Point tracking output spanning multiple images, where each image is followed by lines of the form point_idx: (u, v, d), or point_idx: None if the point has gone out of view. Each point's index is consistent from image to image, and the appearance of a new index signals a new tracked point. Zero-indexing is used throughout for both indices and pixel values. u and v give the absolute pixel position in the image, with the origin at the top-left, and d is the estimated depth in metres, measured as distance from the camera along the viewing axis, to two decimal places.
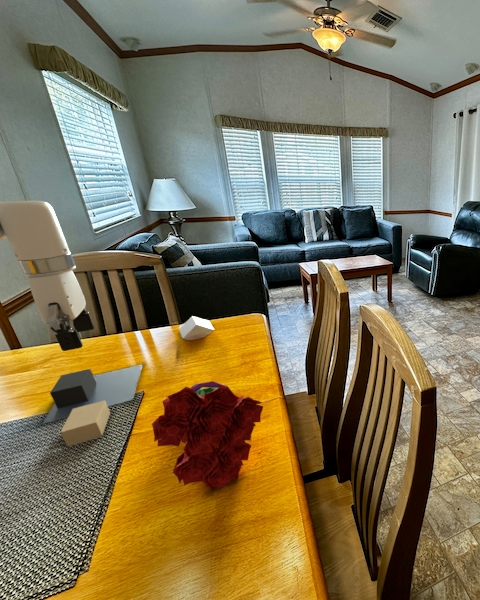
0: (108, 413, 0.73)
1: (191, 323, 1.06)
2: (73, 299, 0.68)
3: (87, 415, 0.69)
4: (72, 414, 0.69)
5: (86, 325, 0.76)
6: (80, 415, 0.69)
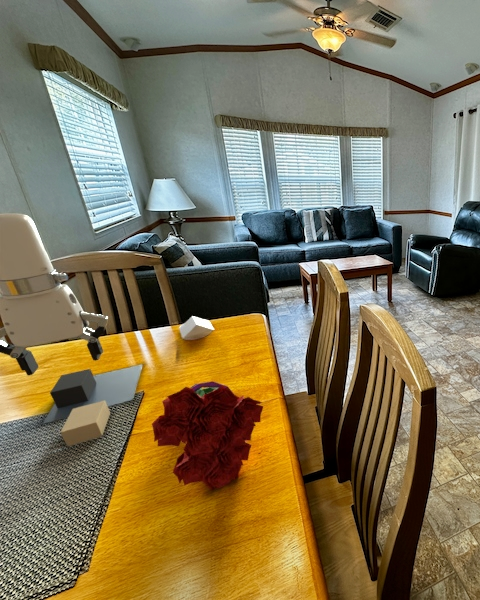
0: (108, 413, 0.73)
1: (191, 323, 1.06)
2: (22, 327, 0.59)
3: (87, 415, 0.69)
4: (72, 414, 0.69)
5: None
6: (80, 415, 0.69)
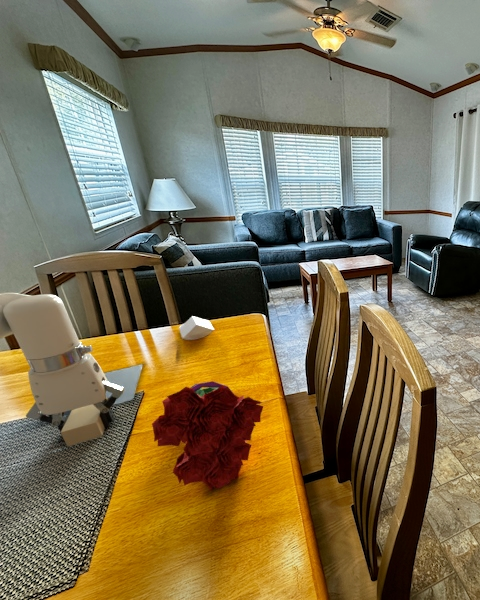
0: None
1: (191, 323, 1.06)
2: (50, 398, 0.63)
3: (87, 415, 0.69)
4: (72, 414, 0.69)
5: None
6: (80, 415, 0.69)
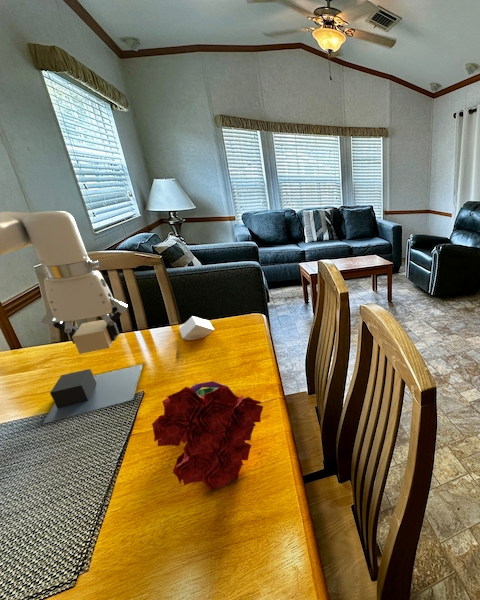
0: None
1: (191, 323, 1.06)
2: (63, 305, 0.71)
3: (95, 326, 0.77)
4: (82, 326, 0.77)
5: None
6: (89, 327, 0.77)
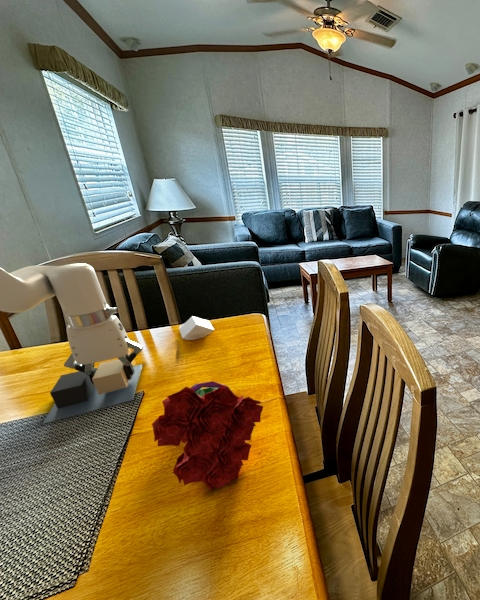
0: None
1: (191, 323, 1.06)
2: (84, 350, 0.76)
3: (112, 367, 0.82)
4: (100, 367, 0.82)
5: None
6: (107, 367, 0.82)
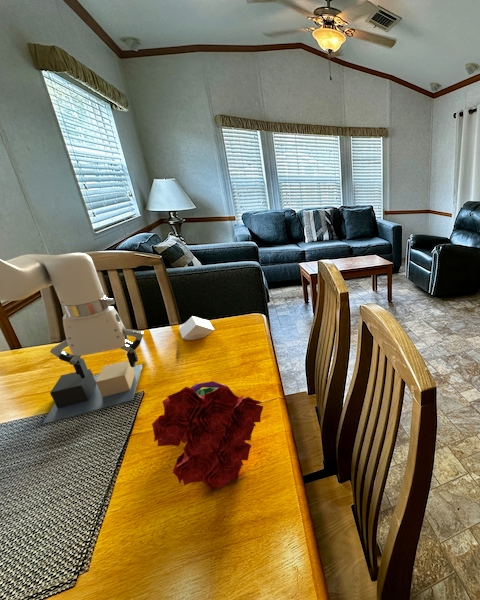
0: (132, 371, 0.87)
1: (191, 323, 1.06)
2: (80, 341, 0.75)
3: (116, 370, 0.82)
4: (103, 369, 0.83)
5: None
6: (110, 370, 0.82)
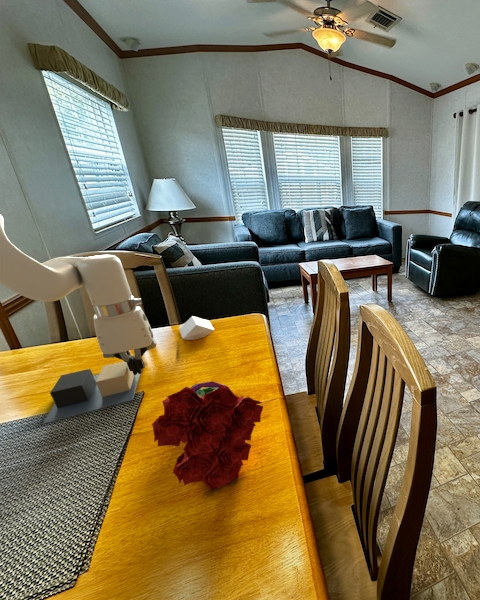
0: None
1: (191, 323, 1.06)
2: (110, 340, 0.78)
3: (116, 370, 0.82)
4: (103, 369, 0.83)
5: None
6: (110, 370, 0.82)
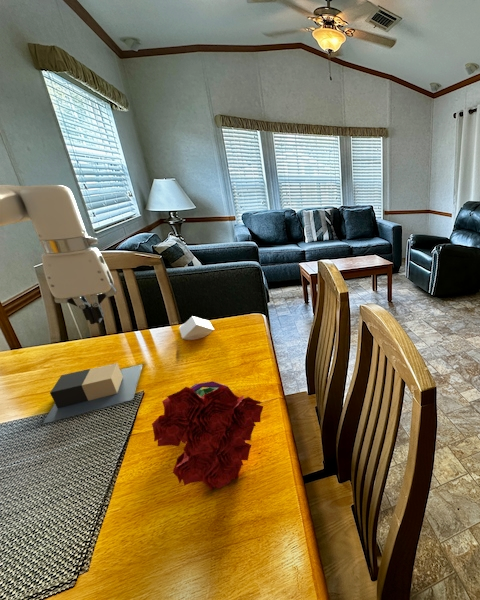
0: (120, 374, 0.86)
1: (191, 323, 1.06)
2: (61, 281, 0.70)
3: (103, 373, 0.81)
4: (90, 372, 0.81)
5: None
6: (97, 373, 0.81)
